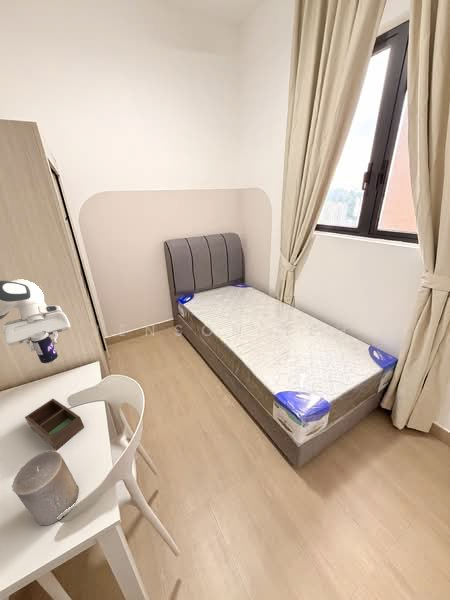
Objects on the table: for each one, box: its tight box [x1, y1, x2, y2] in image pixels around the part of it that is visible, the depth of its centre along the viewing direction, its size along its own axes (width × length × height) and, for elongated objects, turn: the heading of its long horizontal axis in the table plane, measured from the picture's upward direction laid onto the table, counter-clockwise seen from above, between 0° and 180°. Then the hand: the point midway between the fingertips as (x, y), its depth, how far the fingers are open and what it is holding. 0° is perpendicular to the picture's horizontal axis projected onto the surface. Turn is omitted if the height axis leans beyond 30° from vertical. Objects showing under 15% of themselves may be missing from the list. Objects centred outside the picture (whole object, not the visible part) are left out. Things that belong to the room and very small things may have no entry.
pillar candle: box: [11, 450, 80, 527], centre depth 58 cm, size 10×10×15 cm
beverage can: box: [30, 331, 59, 365], centre depth 91 cm, size 6×6×12 cm
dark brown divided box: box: [24, 398, 85, 451], centre depth 81 cm, size 17×9×5 cm, turn 60°
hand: (44, 347), depth 90 cm, fingers closed on beverage can, 5 cm apart
